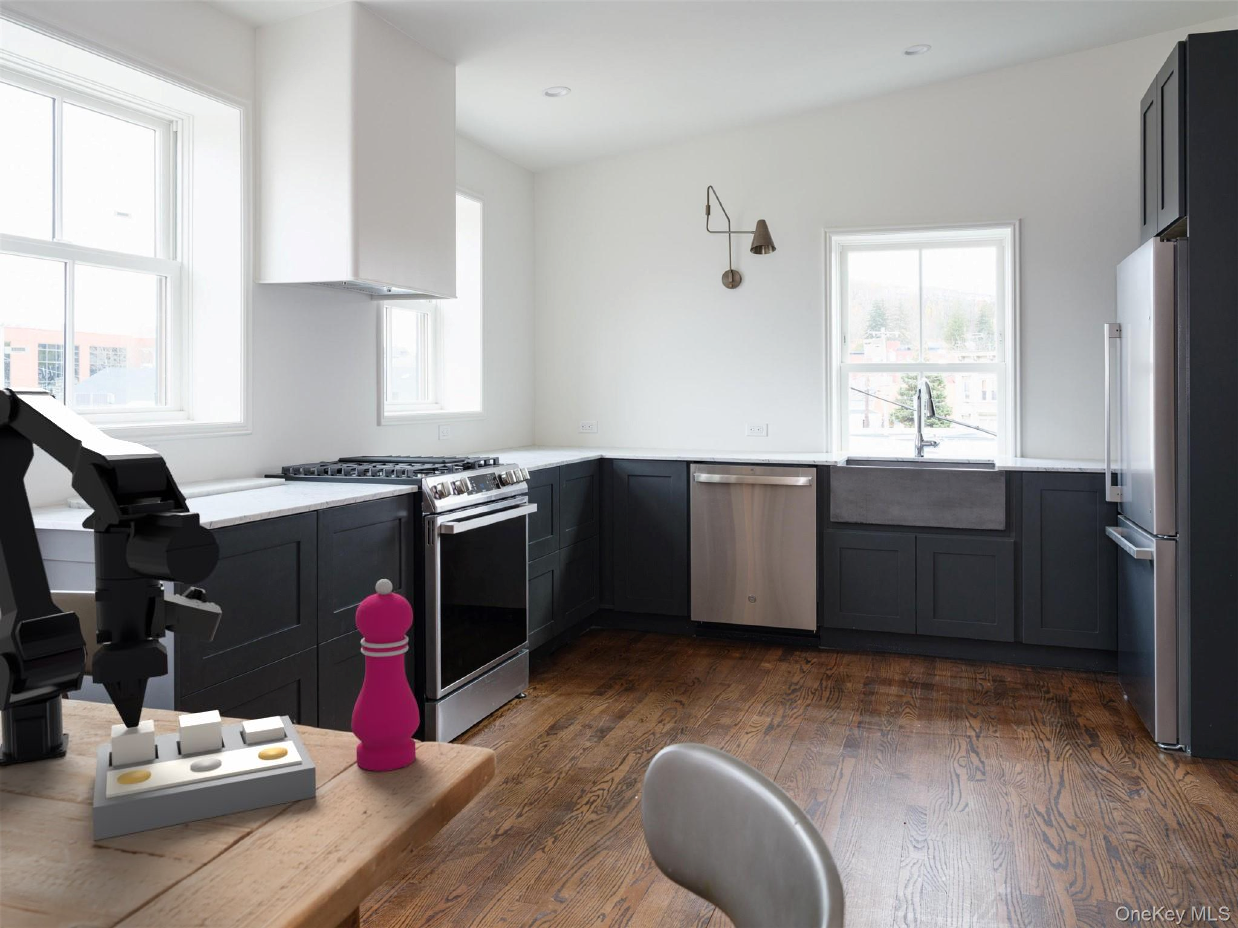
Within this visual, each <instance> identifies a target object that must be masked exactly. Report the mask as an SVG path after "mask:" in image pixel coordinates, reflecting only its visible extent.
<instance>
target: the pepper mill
mask: <svg viewBox="0 0 1238 928" xmlns="http://www.w3.org/2000/svg"><path fill="white" fill-rule="evenodd" d="M375 591H376V593H374V594H371V595H368V596H367V597H365V598H364V599H363V600H362V601H361V602H360V604H359V605H358V606H357V609H356V613H355V619H354V620H355V625H356V628H357V629H358V632H360V633H361V634H362V636H363V638H361V640H360V644H361V648H360V653H362V654H363V655H364V658H365V673H364V675H365V676H364V680H363V685H362V687H361V690H360V692H359V694H358V697H357V699H356V702H355V704H354V708H353V711H352V715H351V725H350V726H351V731H352V734H354V736H355V738H356V739H358V740H359V743H358V744H357V746H356V750H355V751H356V765H358V767H360V768H361V769H364V770H368V771H374V772H385V771H394V770H397V769H401V768H404V767H406V766H409V765H410V764H412V763H413V762H414V761H415V759H416V741H415V739H413V738H412V736H413V735H414V734H415V732H416V731H417V730H418V727H419V725H420V722H421V720H420V710H419V707H418V703H417V700H416V698H415V696H414V693H413V691H412V689H411V687H410V683H409V682H408V679H407V675H406V671H405V670H406V669H405V655H406V654H405V653H406V652H407V651H408V650H409V645H408V642H409V637H408V636H407V635H406V633H407V632H408V630H410V628H411V626H412V624H413V620H414V614H413V613H414V612H413V609H412V606H411V604H410V603H409V601H408V600H407V599H406V598H405V597H404V596H402V595H400V594H398V593H394V592H392V591H393V584H392V582H391V581H390V580H389V579H387V578H384V579H380V580H378V581H377V582H376V584H375Z"/></svg>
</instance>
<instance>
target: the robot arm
mask: <svg viewBox="0 0 1238 928" xmlns="http://www.w3.org/2000/svg"><path fill="white" fill-rule="evenodd" d="M34 445H36V446H37V447H38V448H39V449H41V450H42V451H44V452H45V453H47V455H48V456H50V457H51V458H53V459H54V460H55V461H57V462H58V463H59V464H60V465H62V466H63V467H64V468H66V469H67V470H68V471H69V472H70V473H71V484H70V485H71V488H72V489H73V491H75V492H76V494H78V496H79V497H80V498H81V499H82V500H83V501H84V502H85V503H86V505H87V506H89V507H90V508H91V509H92V510H93V512H92V513H91V514H89V515H88V516H87V517H86V518H85V519H84V520H83V521H82V523H81V526H82V528H83V529H84V530H93V546H94V547H93V548H94V549H93V550H94V576H95V577H94V578H95V579H94V581H95V589H94V601H95V607H96V629H95V630H96V631H95V632H96V633H95V635H96V639H95V640H96V646H99V645H101V646H100V648H98V649H97V650H96V651H95V652H94V653H93V655H92V662H91V673H92V675H91V677H92V684H96V685H102V686H103V687H104V689H105V691H106V692H107V694H108V696H109V698H110V700H111V702H112V704H113V706H114V707H115V709H116V711H117V713H118V714H119V717H120V718H121V721H122V722H123V724H125V726H126V727H127V728H134V727H138V726H139V722H140V721H141V717H142V711H143V707H144V706H143V705H144V702H145V697H146V692H147V686H148V682H149V679H150V678H158V677H163V676H166V675H168V674H169V660H168V656H169V655H168V650H167V646H166V645H164V644H163V643H162V642H161V641H159V640H158V639H164V638H166V635H167V634H166V631H168V632H170V633H174V634H179V635H184V636H189V637H194V638H197V639H198V641H202V642H207V643H209V642H213V640H214V637H215V633H216V632H217V628H218V626H219V623H220V620H221V617H222V614H223V611H222V609H221V607H220V606H219V605H218V604H216V603H215V602H208V599H207V598H208V597H207V593H206V590H205V589H203V588H200V587H199V588H198V587H194V586H190V587H189V588H188V589H186V591H185V592H183V594H182V595H180V594H178V593H175V594H170V593H165V587H164V582H168V583H174V584H175V583H176V584H183V585H197V584H199V583H202V582H203V581H205V580H207V579H208V578H209V577H210V576H211V575H212V573H213V572H214V571H215V569H216V568H217V566H218V561H219V558H220V545H219V544H218V542H217V540H216V539H217V538H216V536H215V535H214V534H213V533H212V531H211V530H209V528H207V527H205V526H203V525H201V515H200V513H199V512H192V511H190V508H189V506H188V504H187V502H186V501H187V498H186V497H185V495H184V494H183V493H182V491H181V490H180V488H179V486H178V484H177V482H176V481H175V478H174V476H173V474H172V473H171V471H170V468H169V467H168V465H167V462H166V460H165V458H164V457H163V456H162V455H161V454H160V453H159V452H158V451H156V450H154V449H152V448H149V447H146V446H144V445H141V444H139V443H136V442H135V443H134V442H129V441H124V440H120V439H115V438H112V437H110V436H108V435H107V434H105V433H104V432H103V431H101V430H99V429H98V428H97V427H95V426H93V425H92V424H91V423H89V422H88V421H86V420H85V419H84V418H83V417H81V416H79V415H78V414H77V413H75V412H74V411H73V410H71V409H70V408H68V407H67V406H65V405H64V404H63V403H61V402H60V401H59V400H57V399H56V397H55V394H53V392H52V391H50V390H46V389H44V388H41V387H37V388H36V387H4V388H2V389H0V614H1V617H0V720H1V722H0V723H1V744H0V766H3V765H10V764H16V763H22V762H29V761H35V760H42V759H49V758H55V757H60V756H65V755H66V754H67V751H68V745H69V738H70V733H69V732H64V725H63V724H64V723H63V721H64V720H63V719H64V718H63V694H64V695H65V694H67V693H72V692H77V691H80V690H82V685H83V681H84V677H85V673H86V672H85V671H86V667H87V662H88V656H89V655H88V649H87V643H86V641H85V639H84V635H83V633H82V629H81V624H80V623H81V621H80V617H79V616H78V614H77V613H76V612H75V611H68V612H67V611H66V612H65V611H64V610H63V609H62V608H61V607H60V606H58V605H57V604H56V603H55V601H54V599H53V596H52V595H53V594H52V591H51V587H50V584H49V583H50V582H49V577H48V575H47V572H46V566H45V562H44V558H43V553H42V549H41V545H40V542H39V537H38V533H37V529H36V526H35V522H34V517H33V516H34V515H33V513H32V510H31V509H32V508H31V505H30V502H29V501H30V500H29V497H28V493H27V488H26V484H25V476H26V474H27V472H28V470H29V468H30V466H31V463H32V461H33V459H34V457H35V450H34V449H35V448H34Z"/></svg>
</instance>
